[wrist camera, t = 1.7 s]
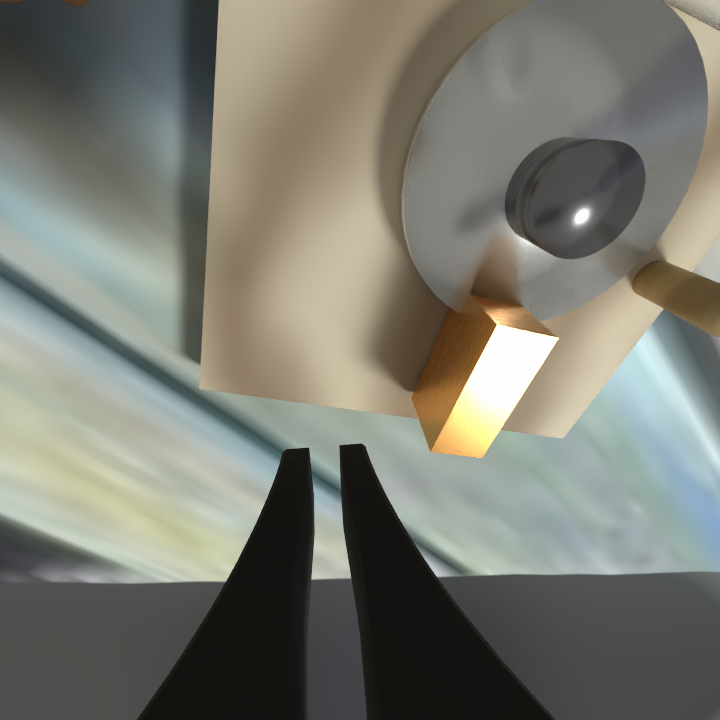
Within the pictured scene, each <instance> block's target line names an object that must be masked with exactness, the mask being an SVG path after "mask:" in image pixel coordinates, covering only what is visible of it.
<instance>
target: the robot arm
mask: <svg viewBox="0 0 720 720" xmlns="http://www.w3.org/2000/svg"><path fill="white" fill-rule="evenodd" d="M340 474H341V498H342V512H343V527H344V534H345V541H346V547H347V553H348V560H349V566H350V572H351V578H352V584H353V591H354V597H355V603H356V609H357V615H358V623H359V631H360V638H361V639H360V640H361V651H362V663H363V674H364V687H365V698H366V710H367V720H555V719H554V718H553V717H552V715H551V714H550V713H549V712H548V711H547V710H546V709H545V708H544V707H543V706H542V705H541V703H540V702H539V701H538V700H537V699H536V698H535V697H534V696H533V695H532V694H531V693H530V691H529V690H528V689H527V688H526V687H525V686H524V685H523V684H522V682H521V681H520V680H519V679H518V678H517V677H516V675H515V674H514V673H513V672H512V671H511V670H510V669H509V668H508V666H507V665H506V664H505V663H504V662H503V661H502V659H501V658H500V657H499V656H498V655H497V653H496V652H495V651H494V650H493V649H492V647H491V646H490V645H489V644H488V642H487V641H486V640H485V639H484V638H483V636H482V635H481V634H480V633H479V631H478V630H477V629H476V628H475V627H474V625H473V624H472V623H471V622H470V621H469V619H468V618H467V617H466V616H465V614H464V613H463V612H462V611H461V609H460V608H459V607H458V605H457V604H456V603H455V601H454V600H453V599H452V597H451V596H450V595H449V593H448V592H447V590H446V589H445V588H444V586H443V585H442V584H441V582H440V581H439V580H438V578H437V577H436V575H435V574H434V572H433V571H432V570H431V568H430V567H429V565H428V564H427V562H426V561H425V559H424V558H423V556H422V555H421V553H420V552H419V550H418V549H417V547H416V545H415V544H414V542H413V541H412V539H411V537H410V536H409V534H408V533H407V531H406V529H405V528H404V526H403V524H402V523H401V521H400V519H399V518H398V516H397V514H396V512H395V510H394V508H393V507H392V505H391V503H390V501H389V499H388V498H387V496H386V494H385V492H384V490H383V488H382V486H381V484H380V482H379V479H378V477H377V475H376V473H375V471H374V468H373V466H372V464H371V461H370V459H369V456H368V453H367V450H366V446H364V445H363V444H350V445H340ZM313 547H314V493H313V483H312V473H311V463H310V453H309V448H298V449H286V450H285V451H284V452H283V453H282V457H281V461H280V464H279V468H278V471H277V474H276V477H275V479H274V482H273V485H272V487H271V490H270V492H269V495H268V497H267V500H266V502H265V504H264V507H263V509H262V511H261V513H260V516H259V518H258V520H257V523H256V525H255V527H254V529H253V531H252V533H251V535H250V537H249V539H248V541H247V543H246V545H245V547H244V549H243V551H242V553H241V555H240V557H239V559H238V561H237V563H236V565H235V567H234V568H233V570H232V572H231V574H230V576H229V578H228V579H227V581H226V583H225V585H224V587H223V588H222V590H221V592H220V594H219V595H218V597H217V599H216V600H215V602H214V604H213V606H212V607H211V609H210V611H209V612H208V614H207V616H206V617H205V619H204V620H203V622H202V623H201V625H200V627H199V628H198V630H197V632H196V633H195V635H194V636H193V638H192V639H191V641H190V643H189V644H188V646H187V647H186V649H185V650H184V652H183V653H182V655H181V657H180V658H179V660H178V661H177V663H176V664H175V666H174V667H173V669H172V671H171V672H170V673H169V675H168V676H167V677H166V679H165V680H164V682H163V683H162V685H161V686H160V688H159V689H158V690H157V692H156V693H155V695H154V696H153V698H152V699H151V700H150V702H149V703H148V705H147V706H146V708H145V709H144V710H143V712H142V713H141V714H140V716H139V717H138V719H137V720H308V718H307V717H308V714H307V635H308V616H309V601H310V588H311V575H312V561H313Z"/></svg>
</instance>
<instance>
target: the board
mask: <svg viewBox="0 0 720 720" xmlns="http://www.w3.org/2000/svg"><path fill="white" fill-rule="evenodd" d="M533 1H535V0H219V10H218V30H217V49H216V69H215V89H214V109H213V129H212V149H211V169H210V189H209V208H208V228H207V248H206V268H205V288H204V308H203V328H202V348H201V367H200V387H199V389H204V390H212V391H219V392H226V393H234V394H241V395H248V396H256V397H263V398H270V399H278V400H285V401H292V402H300V403H307V404H314V405H322V406H329V407H336V408H344V409H351V410H358V411H366V412H373V413H381V414H388V415H395V416H403V417H410V418H417V419H419V418H418V415H417V412H416V410H415V407H414V404H413V401H412V398H411V397H412V395H413V393H414V390H415V388H416V386H417V384H418V381H419V379H420V377H421V374H422V372H423V370H424V368H425V365H426V363H427V361H428V358H429V356H430V354H431V352H432V349H433V347H434V345H435V343H436V340H437V338H438V336H439V333H440V331H441V329H442V327H443V324H444V322H445V320H446V318H447V315H448V313H449V311H450V307H449V306H447V305H446V304H445V303H444V302H443V301H442V300H440V299H439V298H438V297H437V296H436V295H435V294H434V292H433V291H432V290H431V289H430V288H429V286H428V285H427V284H426V283H425V281H424V280H423V278H422V277H421V275H420V274H419V272H418V270H417V269H416V267H415V265H414V264H413V262H412V260H411V258H410V255H409V253H408V250H407V248H406V245H405V242H404V238H403V234H402V230H401V224H400V215H399V184H400V176H401V168H402V164H403V159H404V155H405V151H406V147H407V144H408V141H409V138H410V135H411V133H412V130H413V127H414V124H415V122H416V120H417V118H418V116H419V114H420V111H421V109H422V107H423V105H424V103H425V101H426V99H427V98H428V96H429V95H430V93H431V91H432V90H433V88H434V87H435V85H436V83H437V82H438V80H439V79H440V77H441V76H442V75H443V74H444V72H445V71H446V70H447V69H448V67H449V66H450V65H451V63H452V62H453V61H454V60H455V58H456V57H457V56H458V55H459V54H460V53H461V52H462V51H463V50H464V49H465V48H466V47H467V46H468V45H469V44H470V43H471V42H472V41H473V40H474V39H475V38H477V37H478V36H479V35H481V34H482V33H483V32H484V31H486V30H487V29H488V28H489V27H491V26H492V25H493V24H495V23H496V22H498V21H499V20H501V19H503V18H505V17H506V16H508V15H510V14H511V13H513V12H515V11H516V10H518V9H520V8H522V7H524V6H526V5H528V4H529V3H531V2H533ZM664 3H665V2H664ZM666 4H667V3H666ZM667 5H668V4H667ZM669 6H670V5H669ZM670 7H671V8H672V9H673V10H674V11H675V12H676V13H677V14H678V15H679V16H680V17H681V19H682V20H683V21H684V22H685V24H686V25H687V27H688V28H689V30H690V32H691V33H692V35H693V37H694V38H695V40H696V43H697V45H698V48H699V51H700V53H701V56H702V59H703V63H704V68H705V73H706V78H707V87H708V115H707V127H706V132H705V137H704V143H703V148H702V151H701V155H700V158H699V161H698V165H697V168H696V171H695V174H694V176H693V178H692V181H691V183H690V186H689V188H688V191H687V193H686V195H685V197H684V199H683V200H682V202H681V204H680V206H679V208H678V210H677V212H676V214H675V215H674V217H673V218H672V220H671V221H670V223H669V225H668V226H667V228H666V229H665V231H664V232H663V233H662V235H661V236H660V237H659V239H658V240H657V241H656V243H655V244H654V245H653V247H652V248H651V249H650V250H649V251H648V252H647V254H646V255H645V256H644V257H643V258H642V259H641V260H640V261H639V262H638V263H637V264H636V265H635V266H634V267H633V268H632V269H631V270H630V271H629V272H628V273H627V274H626V275H625V276H624V277H623V278H621V279H620V280H619V281H618V282H616V283H615V284H614V285H613V286H612V287H610V288H609V289H608V290H606V291H605V292H603V293H602V294H600V295H599V296H597V297H596V298H594V299H593V300H591V301H589V302H587V303H586V304H584V305H582V306H580V307H579V308H576V309H574V310H572V311H570V312H567V313H565V314H563V315H560V316H557V317H554V318H551V319H548V320H545V321H540V322H541V323H542V324H543V325H544V326H545V327H546V328H548V329H549V330H550V331H551V332H552V333H553V334H554V335H555V336H556V337H558V340H557V341H556V343H555V344H554V346H553V347H552V349H551V350H550V352H549V354H548V355H547V357H546V358H545V360H544V361H543V363H542V365H541V366H540V368H539V369H538V371H537V372H536V374H535V376H534V377H533V379H532V380H531V382H530V383H529V385H528V386H527V388H526V390H525V391H524V393H523V394H522V396H521V397H520V399H519V401H518V402H517V404H516V405H515V407H514V408H513V410H512V412H511V413H510V415H509V416H508V418H507V419H506V421H505V422H504V424H503V426H502V427H501V429H500V430H505V431H513V432H520V433H527V434H535V435H542V436H549V437H557V438H564V436H565V435H566V434H567V433H568V431H569V430H570V429H571V427H572V426H573V425H574V423H575V422H576V421H577V420H578V418H579V417H580V416H581V414H582V413H583V412H584V411H585V409H586V408H587V407H588V405H589V404H590V403H591V402H592V400H593V399H594V398H595V396H596V395H597V394H598V393H599V391H600V390H601V389H602V387H603V386H604V385H605V383H606V382H607V381H608V380H609V378H610V377H611V376H612V374H613V373H614V372H615V371H616V369H617V368H618V367H619V365H620V364H621V363H622V362H623V360H624V359H625V358H626V356H627V355H628V354H629V353H630V351H631V350H632V349H633V347H634V346H635V345H636V343H637V342H638V341H639V340H640V338H641V337H642V336H643V334H644V333H645V332H646V331H647V329H648V328H649V327H650V325H651V324H652V323H653V322H654V320H655V319H656V318H657V316H658V315H659V314H660V312H661V311H662V310H663V309H665V310H667V311H669V312H671V313H673V314H675V315H676V316H678V317H680V318H682V319H684V320H686V321H688V322H689V323H691V324H693V325H695V326H697V327H699V328H701V329H702V330H704V331H706V332H708V333H710V334H712V335H713V336H716V337H720V283H717V282H715V281H712V280H710V279H707V278H705V277H702V276H700V275H697V274H695V273H693V272H692V271H693V270H694V269H695V267H696V266H697V265H698V263H699V262H700V261H701V260H702V258H703V257H704V256H705V254H706V253H707V252H708V251H709V249H710V248H711V247H712V245H713V244H714V243H715V241H716V240H717V239H718V238H719V236H720V31H719V30H717V29H715V28H713V27H711V26H709V25H707V24H705V23H703V22H701V21H699V20H697V19H695V18H694V17H692V16H690V15H688V14H686V13H684V12H682V11H680V10H678V9H676V8H674V7H672V6H670Z"/></svg>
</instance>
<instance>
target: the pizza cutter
mask: <svg viewBox="0 0 720 720" xmlns="http://www.w3.org/2000/svg"><path fill="white" fill-rule="evenodd" d="M707 115H708V87H707V78H706V73H705V68H704V63H703V59H702V56H701V53H700V51H699V48H698V45H697V43H696V40H695V38H694V37H693V35H692V33H691V32H690V30H689V28H688V27H687V25H686V24H685V22H684V21H683V20H682V19H681V17H680V16H679V15H678V14H677V13H676V12H675V11H674V10H673V9H672V8H671V7H670V6H669V5H667V4H666V3H664V2H663V1H661V0H535V1H533V2H531V3H529V4H528V5H526V6H524V7H522V8H520V9H518V10H516V11H515V12H513V13H511V14H510V15H508V16H506V17H505V18H503V19H501V20H499V21H498V22H496V23H495V24H493V25H492V26H491V27H489V28H488V29H487V30H486V31H484V32H483V33H482V34H481V35H479V36H478V37H477V38H475V39H474V40H473V41H472V42H471V43H470V44H469V45H468V46H467V47H466V48H465V49H464V50H463V51H462V52H461V53H460V54H459V55H458V56H457V57H456V58H455V60H454V61H453V62H452V63H451V65H450V66H449V67H448V69H447V70H446V71H445V72H444V74H443V75H442V76H441V77H440V79H439V80H438V82H437V83H436V85H435V87H434V88H433V90H432V91H431V93H430V95H429V96H428V98H427V99H426V101H425V103H424V105H423V107H422V109H421V111H420V114H419V116H418V118H417V120H416V122H415V124H414V127H413V130H412V133H411V135H410V138H409V141H408V144H407V147H406V151H405V155H404V159H403V164H402V168H401V176H400V184H399V215H400V224H401V230H402V234H403V238H404V242H405V245H406V248H407V250H408V253H409V255H410V258H411V260H412V262H413V264H414V265H415V267H416V269H417V270H418V272H419V274H420V275H421V277H422V278H423V280H424V281H425V283H426V284H427V285H428V286H429V288H430V289H431V290H432V291H433V292H434V294H435V295H436V296H437V297H438V298H439V299H440V300H442V301H443V302H444V303H445V304H446V305H447V306H449V307H450V311H449V313H448V315H447V318H446V320H445V322H444V324H443V327H442V329H441V331H440V333H439V336H438V338H437V340H436V343H435V345H434V347H433V349H432V352H431V354H430V356H429V358H428V361H427V363H426V365H425V368H424V370H423V372H422V374H421V377H420V379H419V381H418V384H417V386H416V388H415V390H414V393H413V395H412V397H411V398H412V401H413V404H414V407H415V410H416V412H417V415H418V418H419V421H420V424H421V426H422V429H423V432H424V435H425V438H426V441H427V443H428V446H429V449H430V452H436V453H444V454H453V455H462V456H471V457H479V458H482V457H483V455H484V454H485V452H486V451H487V449H488V448H489V446H490V444H491V443H492V441H493V440H494V438H495V437H496V435H497V433H498V432H499V430H500V429H501V427H502V426H503V424H504V422H505V421H506V419H507V418H508V416H509V415H510V413H511V412H512V410H513V408H514V407H515V405H516V404H517V402H518V401H519V399H520V397H521V396H522V394H523V393H524V391H525V390H526V388H527V386H528V385H529V383H530V382H531V380H532V379H533V377H534V376H535V374H536V372H537V371H538V369H539V368H540V366H541V365H542V363H543V361H544V360H545V358H546V357H547V355H548V354H549V352H550V350H551V349H552V347H553V346H554V344H555V343H556V341H557V340H558V337H556V336H555V335H554V334H553V333H552V332H551V331H550V330H549V329H548V328H546V327H545V326H544V325H543V324H542V323H541V322H540V321H545V320H548V319H551V318H554V317H557V316H560V315H563V314H565V313H567V312H570V311H572V310H574V309H576V308H579V307H580V306H582V305H584V304H586V303H587V302H589V301H591V300H593V299H594V298H596V297H597V296H599V295H600V294H602V293H603V292H605V291H606V290H608V289H609V288H610V287H612V286H613V285H614V284H615V283H616V282H618V281H619V280H620V279H621V278H623V277H624V276H625V275H626V274H627V273H628V272H629V271H630V270H631V269H632V268H633V267H634V266H635V265H636V264H637V263H638V262H639V261H640V260H641V259H642V258H643V257H644V256H645V255H646V254H647V252H648V251H649V250H650V249H651V248H652V247H653V245H654V244H655V243H656V241H657V240H658V239H659V237H660V236H661V235H662V233H663V232H664V231H665V229H666V228H667V226H668V225H669V223H670V221H671V220H672V218H673V217H674V215H675V214H676V212H677V210H678V208H679V206H680V204H681V202H682V200H683V199H684V197H685V195H686V193H687V191H688V188H689V186H690V183H691V181H692V178H693V176H694V174H695V171H696V168H697V165H698V161H699V158H700V155H701V151H702V148H703V143H704V137H705V132H706V127H707Z"/></svg>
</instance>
